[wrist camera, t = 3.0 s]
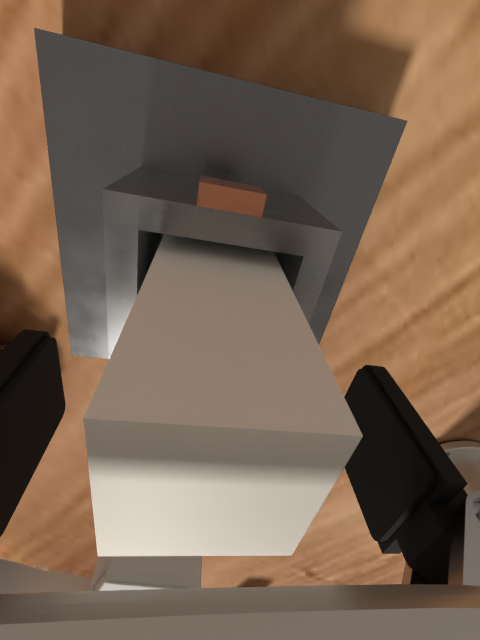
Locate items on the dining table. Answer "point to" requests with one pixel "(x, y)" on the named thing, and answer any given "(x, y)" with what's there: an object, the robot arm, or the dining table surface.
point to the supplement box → (146, 573)
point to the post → (214, 412)
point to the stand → (197, 177)
